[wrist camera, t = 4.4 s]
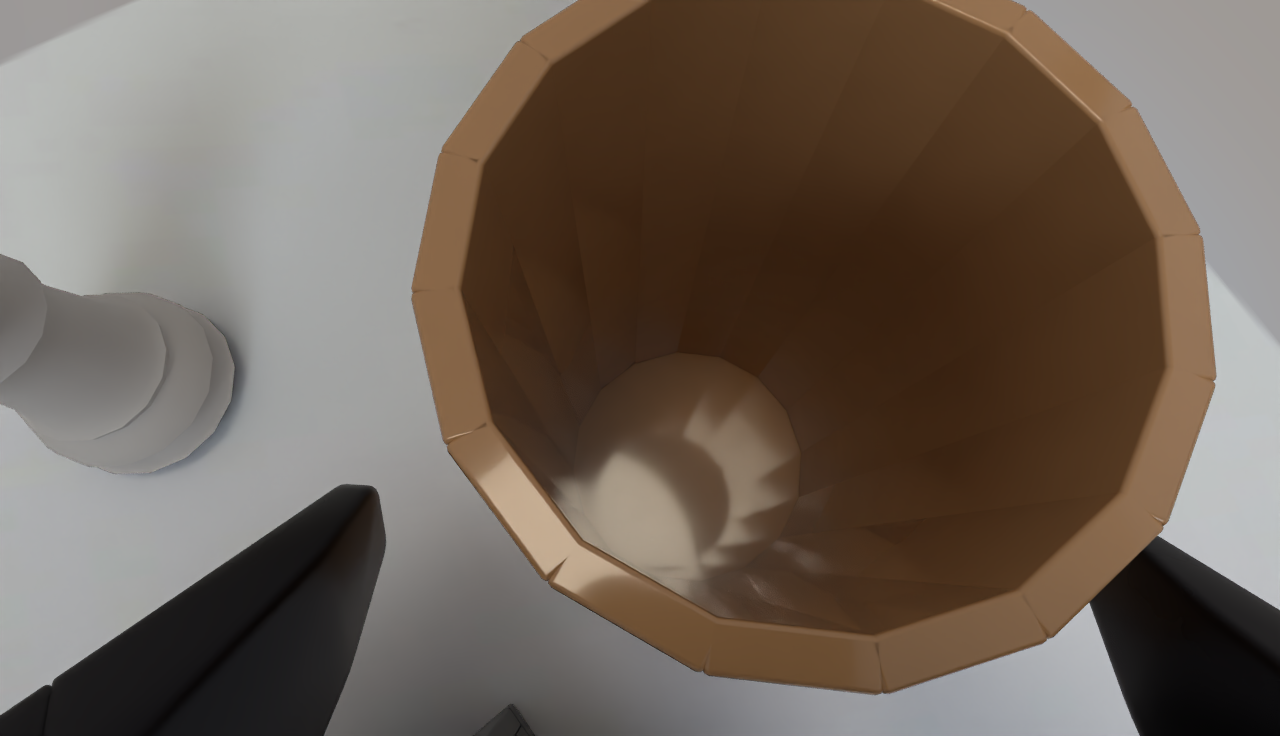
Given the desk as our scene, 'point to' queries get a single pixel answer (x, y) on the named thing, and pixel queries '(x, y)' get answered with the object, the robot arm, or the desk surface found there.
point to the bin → (506, 724)
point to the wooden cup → (815, 328)
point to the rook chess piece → (110, 373)
